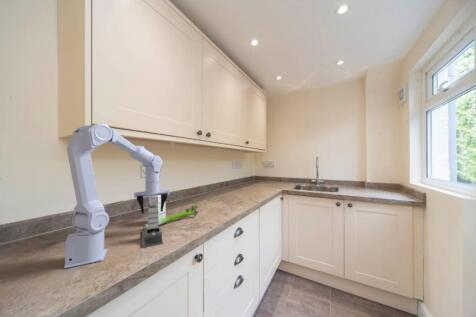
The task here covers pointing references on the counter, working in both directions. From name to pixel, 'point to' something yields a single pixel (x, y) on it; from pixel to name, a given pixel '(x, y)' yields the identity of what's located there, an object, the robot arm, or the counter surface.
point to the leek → (176, 216)
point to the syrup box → (157, 205)
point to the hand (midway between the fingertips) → (152, 212)
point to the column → (153, 218)
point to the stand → (151, 237)
